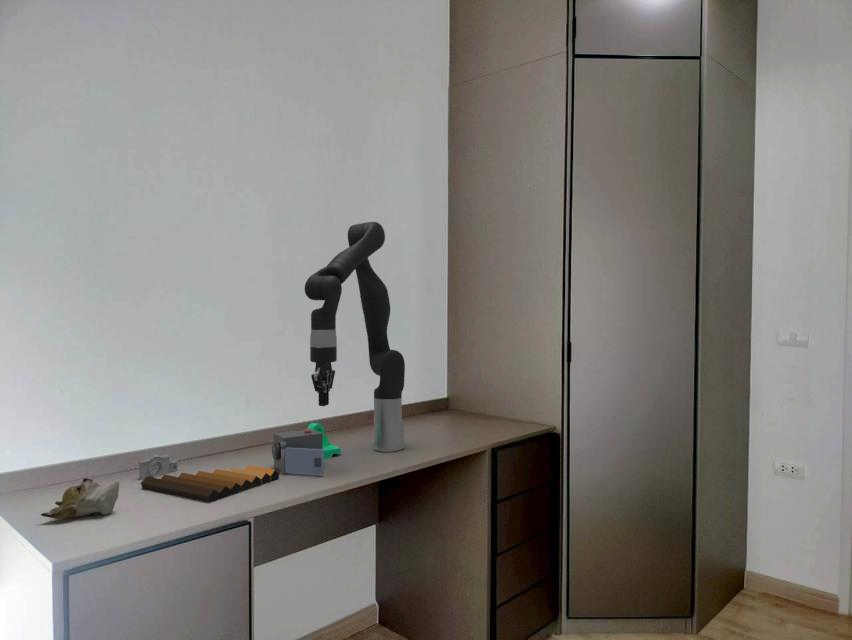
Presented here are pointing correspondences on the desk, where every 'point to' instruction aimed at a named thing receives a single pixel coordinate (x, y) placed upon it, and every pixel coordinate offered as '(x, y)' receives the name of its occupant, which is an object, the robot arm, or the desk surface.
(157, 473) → the grey ringed bracket
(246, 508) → the desk surface
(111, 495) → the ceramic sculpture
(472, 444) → the desk surface
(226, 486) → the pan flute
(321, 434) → the housing
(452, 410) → the desk surface
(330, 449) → the camera mount
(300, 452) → the door
